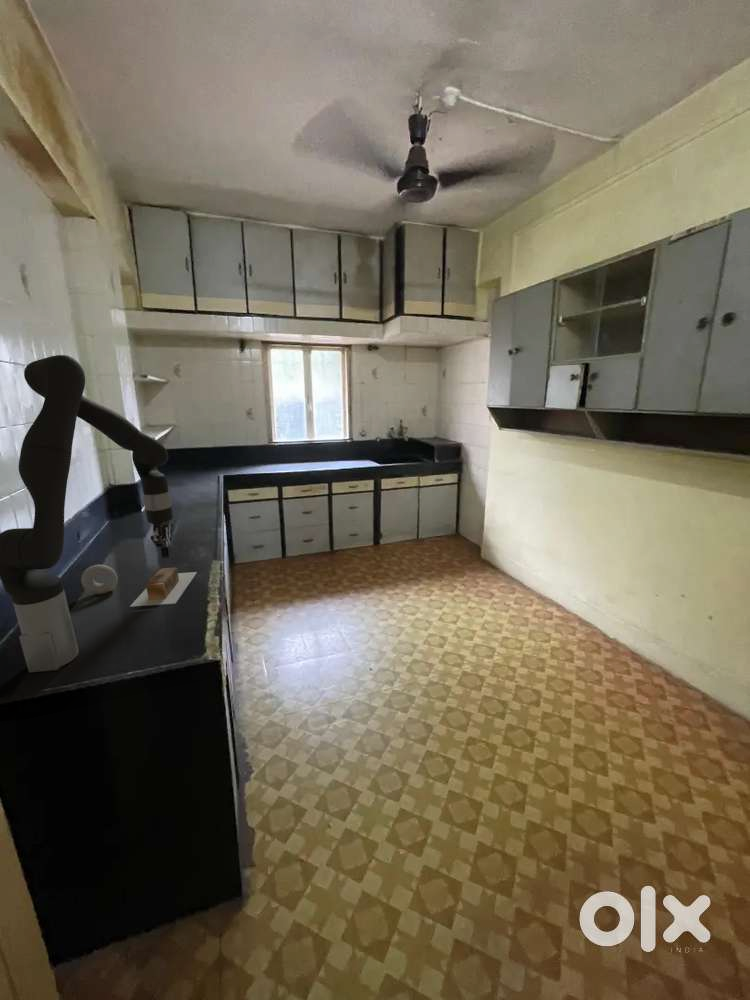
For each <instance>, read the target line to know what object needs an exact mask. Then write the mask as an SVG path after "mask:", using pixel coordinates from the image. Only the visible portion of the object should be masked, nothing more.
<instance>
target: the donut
mask: <svg viewBox="0 0 750 1000" xmlns="http://www.w3.org/2000/svg"><path fill="white" fill-rule="evenodd" d="M96 576H101V577H103V578H104V579H105V580H104V582H102V583H100V582H97V581H95V577H96ZM118 578H119V577H118V574H117V572H116V571H115V570H114V569H113V568H112V567H110V566H109V565H105V564H94V565H91V566H89V567H88V568H86V569H85V570H84V571H83V572H82V574H81V577H80V579H81V580H80V583H81V584H82V587H83V588H84V589H85V590H86V591H87V592H89V593H91V594H95V595H102V594H108V593H109V592H111V591H113V590H114V588H115V587H117V584H118V582H119V581H118V580H119V579H118Z"/></svg>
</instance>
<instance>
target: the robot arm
mask: <svg viewBox="0 0 750 1000" xmlns="http://www.w3.org/2000/svg"><path fill="white" fill-rule="evenodd" d="M23 377H24V380H25V382H26V384H27V385H28V386H29V388H30V389H31V390H32V391H34V392H35V393H36V394H38V396H39V395H40V396H41V397H43V398H44V401H43V404H42V407H41V410H40V411H39V413H38V415H37V416H36V418H35V419H34V421H33V423H31V425H30V427H29V429H28V430H27V432H26V434H25V436H24V438H23V441H22V444H21V447H20V452H19V453H20V455H19V460H18V473H19V475H20V478H21V480H22V483H23V485H24V486H25V488H26V489H27V491H28V493H29V494H30V496H31V499H32V501H33V507H34V519H33V520H34V521H33V526H32V527H27V528H25V527H22V528H9V529H5V530H3V531H2V532H0V581H1V584H2V587H3V589H4V591H5V592H6V593H7V595H9V596H10V597H11V599H12V603H13V607H14V612H15V614H16V619H17V622H18V626H19V629H20V633H21V635H20V636H19V641H20V645H21V648H22V649H21V650H22V653H23V656H24V660H25V664H26V667H27V670H28V673H38V672H49V671H51V670H52V671H57V670H59V669H60V668H62V667H63V666H65V665H66V664H69V663H70V662H72V661H73V660H74V659H76V658H77V656H78V655H79V652H80V651H79V647H78V641H77V638H76V634H75V630H74V626H73V625H74V624H73V622H72V617H71V613H70V609H69V604H68V600H67V595H66V592H65V588H64V584H63V581H62V579H61V577H59V576H57V575H56V574H51V573H49V572H48V571H45V570H46V569H51V568H54V567H55V566H56V565H57V564H58V562H59V561H60V559H61V557H62V555H63V550H64V542H65V508H66V507H65V505H66V495H67V486H68V480H69V474H70V467H71V462H72V461H71V459H72V453H73V452H72V451H73V444H74V443H73V442H74V437H75V431H76V423H77V418H79V419H81V420H83V421H84V422H86V423H87V424H89V425H90V426H92V427H93V428H95V429H96V430H98V431H99V432H101V434H104V436H106V437H107V438H109V439H110V440H111V441H112V442H114V443H115V444H116V445H117V446H118V447H120V448H122V449H125V450H128V451H130V452H132V454H131V455H132V457H131V458H132V462H133V465H134V467H135V470H136V471H137V474H138V477H139V478H140V480H141V486H142V491H143V492H142V493H143V504H144V505H143V506H144V509H145V516H146V521H147V523H149V524H152V525H153V526H152V527H153V529H152V531H153V535H150V539H151V541H152V543H153V544H154V545H155V547H156V548H160V554H161V558H163V559H164V558H170V556H171V549H170V548H171V547H170V544H171V543H170V542H172V539H173V531H174V524H171V523H170V521H172V520H173V519H174V511H173V507H172V499H171V496H170V490H169V484H168V480H167V476H166V475H165V474H164V473H163V472H160V471H159V469H158V468H159V467H162V466H164V465H166V464H167V462H168V460H169V452H168V450H167V448H166V447H165V446H164V444H162V443H160V442H159V441H158V440H156V439H155V438H153V437H151V436H149V435H148V434H146V433H144V432H142V431H141V430H139V429H138V428H137V427H136V426H135V425H134V424H133V423H131V421H129V420H128V419H127V418H125V417H124V416H123V415H121V414H120V413H118V412H116V411H114V410H112V409H110V408H108V407H106V406H104V405H102V404H100V403H97V402H95V401H93V400H91V399H90V398H88V397H86V396H85V395H84V391H85V386H86V375H85V372H84V369H83V367H82V365H81V364H80V362H78V360H76V359H75V358H74V357H72V356H70V355H64V354H57V355H51V356H48V357H44V358H41V359H36V360H34V361H32V362H30V363H28V364H27V365H26V366H25V368H24V371H23ZM52 671H51V672H52Z"/></svg>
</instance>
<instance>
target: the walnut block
mask: <svg viewBox="0 0 750 1000" xmlns="http://www.w3.org/2000/svg"><path fill="white" fill-rule="evenodd" d="M178 573H179V572H178V568H177V567H164V568H160V569H159V570H158V571H157V572H156V574H155V575H154V576H153V577H152V578H151V579H150V580H149V581H148V582H147V584H145V586H146V587H145V589H146V588H147V593H148V599H149V600H154V599H166V598H167V596H168V595H169V594H170V592H171V591H172V590H173V588H174V587H175V586H176V584H177V583H178V582H179V578H178Z"/></svg>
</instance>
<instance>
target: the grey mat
mask: <svg viewBox="0 0 750 1000" xmlns="http://www.w3.org/2000/svg"><path fill="white" fill-rule="evenodd" d="M197 573H198V572H197V571H193V572H192V571H191V572H180V573H179V572H178V578H179V582H178V583H177V584H176V586H175V587H174V588H173V590H172V591H171V592H170V594H169V595H168V596H167V598H166V599H154V600H149V599H148V593H147V588H146V587H145V589H144V590H143V591H142V593H141V594H139V595H138V597H137V598H136V599H135V600H134V601H133V602H132V603H131V605H129V607H131V608H132V607H142V606H157V605H158V606H159V605H173V604H174V605H175V604H177V602H178V600H179V599H180V597H181V596H182V595H183V593H184V592H185V591H186V589H187V587H188V586H189V584H190V583H191V582H192V581H193V579H194V578H195V576H196V574H197Z"/></svg>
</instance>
